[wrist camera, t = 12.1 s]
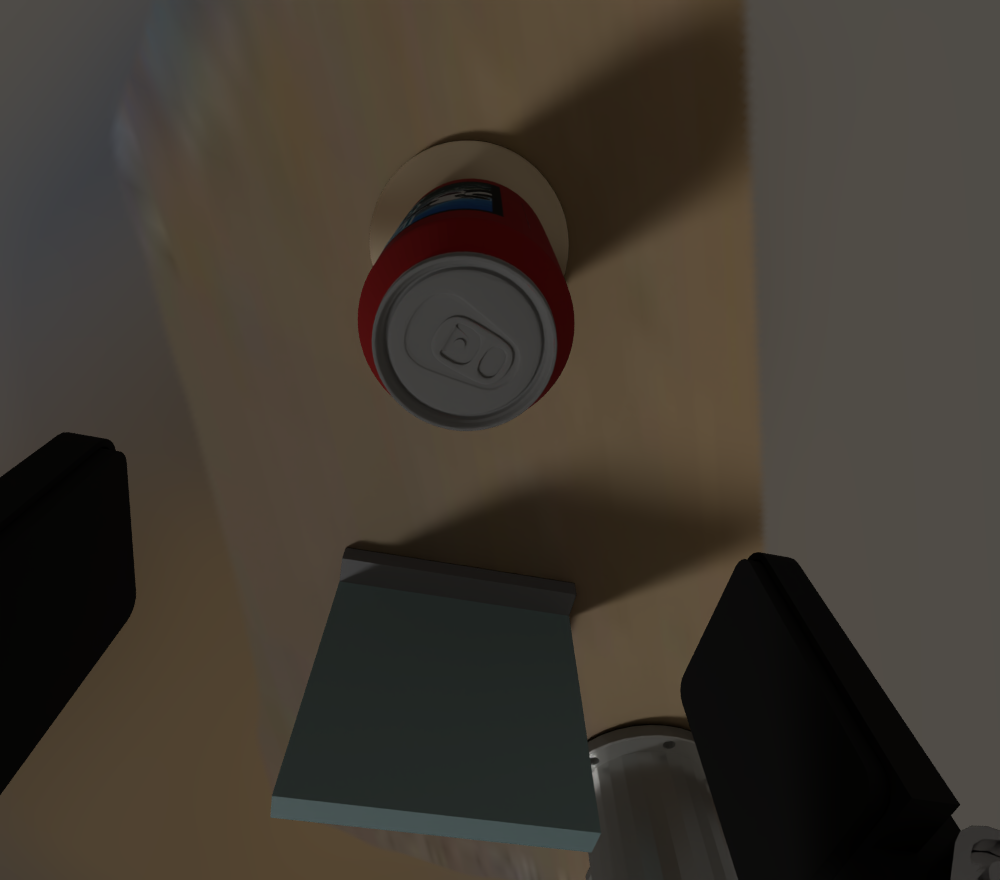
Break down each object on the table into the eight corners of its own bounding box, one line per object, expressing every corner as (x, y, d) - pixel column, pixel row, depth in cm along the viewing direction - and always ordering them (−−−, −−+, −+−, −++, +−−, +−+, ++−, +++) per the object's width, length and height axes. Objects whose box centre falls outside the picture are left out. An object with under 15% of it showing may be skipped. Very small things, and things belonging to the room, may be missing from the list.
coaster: (541, 356, 32) (542, 360, 31) (361, 321, 31) (359, 325, 30) (590, 165, 27) (592, 167, 27) (384, 118, 26) (382, 118, 26)
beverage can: (444, 142, 26) (415, 174, 16) (576, 229, 28) (630, 311, 18) (372, 279, 29) (307, 385, 18) (497, 351, 31) (502, 485, 20)
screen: (554, 641, 41) (580, 873, 29) (338, 609, 40) (269, 840, 27) (574, 583, 39) (612, 809, 26) (345, 547, 37) (273, 769, 25)
